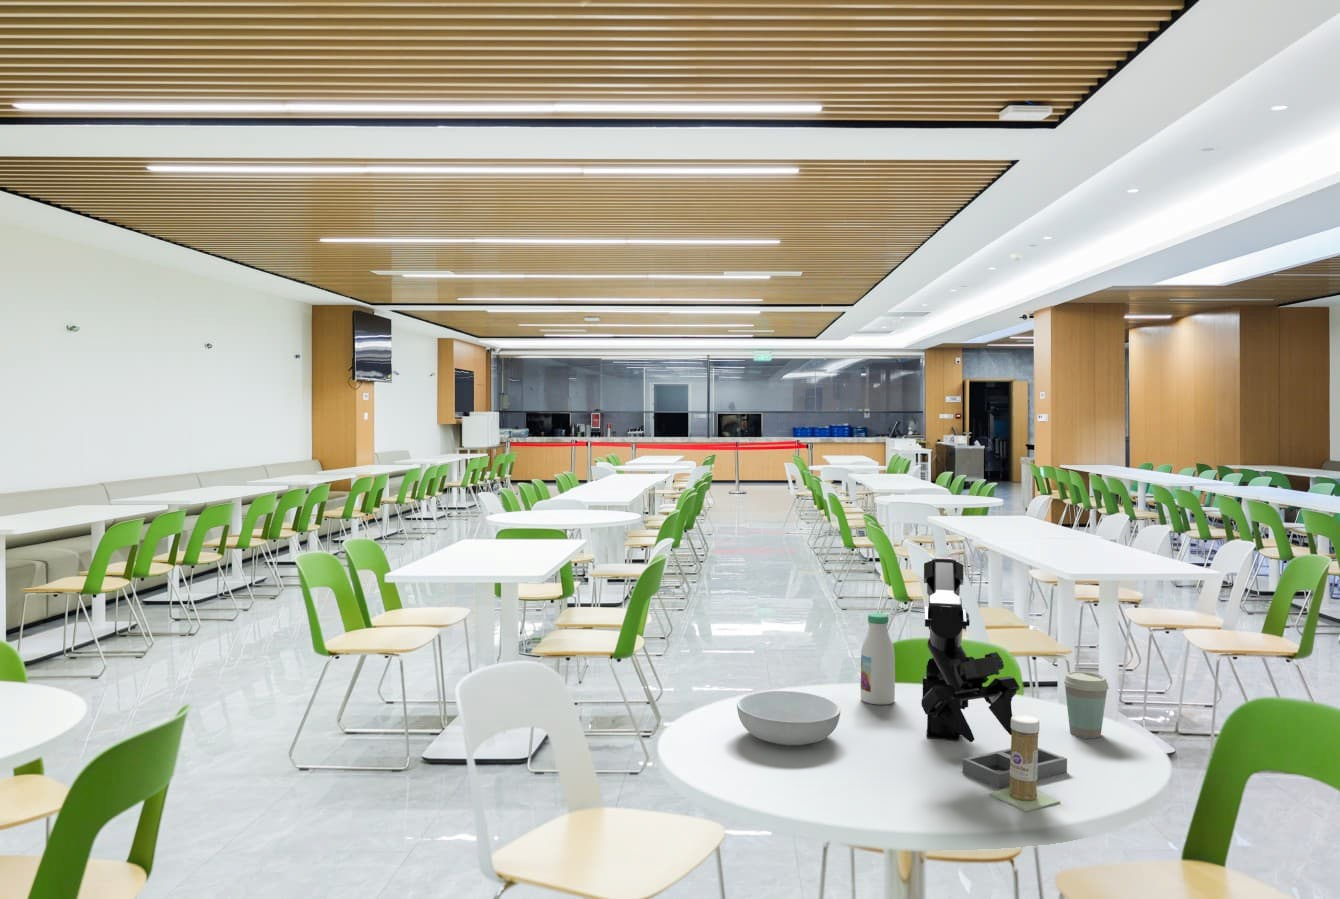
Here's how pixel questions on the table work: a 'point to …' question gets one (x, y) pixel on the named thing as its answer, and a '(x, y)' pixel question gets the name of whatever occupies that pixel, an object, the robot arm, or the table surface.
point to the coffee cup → (1085, 702)
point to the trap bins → (997, 766)
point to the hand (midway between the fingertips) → (993, 737)
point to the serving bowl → (788, 716)
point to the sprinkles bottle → (1024, 757)
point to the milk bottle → (877, 663)
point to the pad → (1027, 806)
